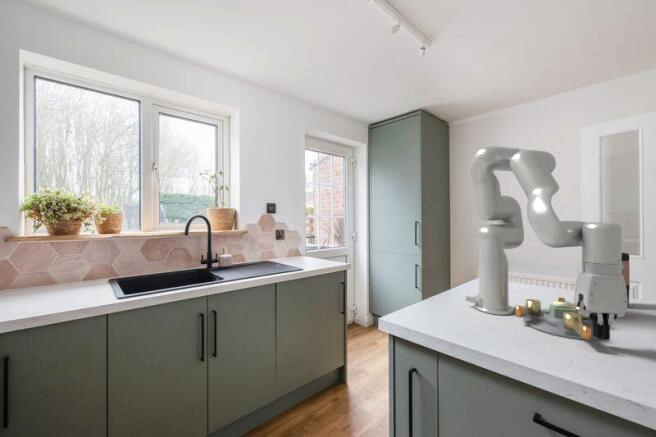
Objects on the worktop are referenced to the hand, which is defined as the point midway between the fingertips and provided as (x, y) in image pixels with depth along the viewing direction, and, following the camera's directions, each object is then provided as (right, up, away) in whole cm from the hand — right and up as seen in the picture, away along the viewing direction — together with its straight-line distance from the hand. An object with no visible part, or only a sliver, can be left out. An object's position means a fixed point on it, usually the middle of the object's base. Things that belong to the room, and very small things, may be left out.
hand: (601, 337), depth 75 cm
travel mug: (+37, -2, +33) cm, 50 cm away
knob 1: (-7, 0, +18) cm, 19 cm away
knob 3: (-3, 0, +4) cm, 5 cm away
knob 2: (+9, 0, +19) cm, 21 cm away
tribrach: (+1, -2, +14) cm, 14 cm away
